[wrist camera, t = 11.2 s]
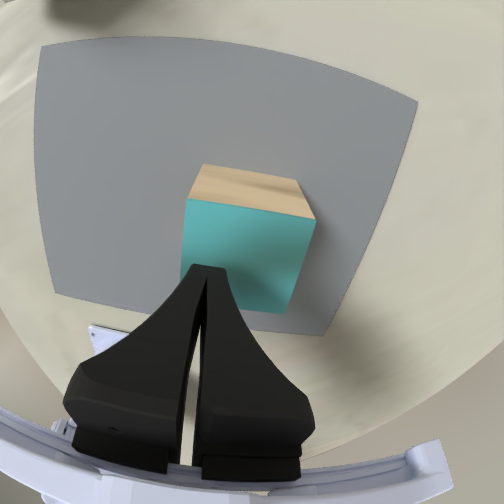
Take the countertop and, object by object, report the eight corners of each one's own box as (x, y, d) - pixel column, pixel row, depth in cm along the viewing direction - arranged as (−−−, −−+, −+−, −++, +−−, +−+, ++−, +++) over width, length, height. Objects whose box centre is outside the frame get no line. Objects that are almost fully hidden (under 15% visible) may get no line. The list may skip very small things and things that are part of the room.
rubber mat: (322, 334, 25) (322, 336, 24) (56, 291, 21) (55, 292, 21) (416, 101, 14) (418, 101, 14) (43, 46, 11) (41, 46, 11)
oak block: (178, 300, 14) (193, 244, 19) (284, 314, 15) (274, 256, 20) (186, 199, 12) (203, 163, 16) (316, 221, 12) (295, 180, 17)
